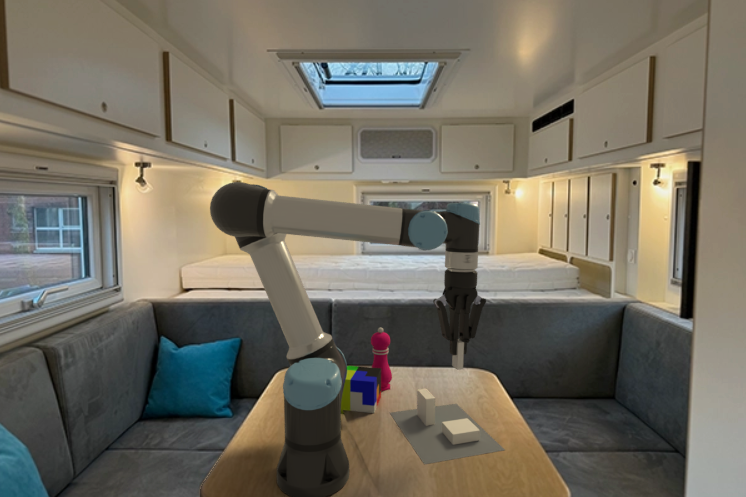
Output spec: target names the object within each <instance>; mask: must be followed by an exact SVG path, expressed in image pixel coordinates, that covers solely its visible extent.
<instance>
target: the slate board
mask: <svg viewBox="0 0 746 497" xmlns="http://www.w3.org/2000/svg"><path fill="white" fill-rule="evenodd" d="M389 414H390V416H391V417H392V419H393V420H394V421H395V424H396V425H397V426H398V427H399V429H400V431H401V432H402V433H403V435H404V436H405V438H406V440H407V441H408V442H409V444H410V446H411V447H412V448H413V450H414V451H415V453H416V454H417V456H418V457H419V459H420V460H421V462H422V463H423V465H429V464H436V463H440V462H445V461H450V460H457V459H458V460H459V459H463V458H468V457H474V456H475V457H476V456H479V455H481V456H482V455H485V454H493V453H497V452H503V451H506V449H505V448H504V447H503V446H502V445H501V444H500V443H499V442H498V441H496V440H495V439H494V438H493V437H492V436H491V435H490V434H489V432H487V431H486V430H485V429H484V428H483V427H482V426H481V425H480V424H479V423H478V422H477V421H475V420H474V419H473V418H472V416H470V415H469V414H468V413H467V412H466V411H465V410H464V409H463V408H462V407H461V406H459V404H458V403H452V404H445V405H438V406H437V405H435V424H433V425H427V426H426V425H425V424H424V423H423V421H422V420H421V419H420V418H419V416H418V415H417V408H414V409H406V410H401V411H392V412H391V411H390V412H389ZM466 418H468V419H469V420H470V421H471V422H472V423H473V424H474V425H475V426H476V427H477V428H478V429H479V430H480V440H479V441H473V442H467V443H460V444H454V445H453V444H452V443H451V442H450V441H449V440H448V438H447V437H446V436H445V435H444V434H443V433H442V422H445V421H452V420H459V419H466Z"/></svg>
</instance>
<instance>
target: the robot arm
mask: <svg viewBox="0 0 746 497" xmlns="http://www.w3.org/2000/svg"><path fill="white" fill-rule="evenodd" d="M209 213H210V217H211V220H212V222H213V224H214V225H215V227H216V228H218V229H219V230H220V231H221V232H222V233H224V234H225V235H228V236H231V237H234V238H235V240H236V243H237V245H238V248H239V249H240V251H242V252H245V253H247V254H248V255H249V256H250V258H251V261H252V263H253V264H254V265H253V266H254V268H255V271H256V273H257V274H258V277H259V279H260V281H261V284H262V286H263V288H264V291H265V292H266V296H267V298H268V300H269V302H270V305H271V307H272V310H273V313H274V314H275V317H276V319H277V321H278V323H279V326H280V328H281V331H282V333H283V335H284V338H285V340H286V342H287V344H288V347H289V348H288V351H287V353H286V359H287V361H288V364H289V367H288V369H287V370H286V371H285V373H284V380H283V384H282V391H283V392H282V393H283V412H284V413H283V414H284V415H283V416H284V420H283V422H284V444H283V447H282V451H281V454H280V455H279V456H280V457H279V460H278V463H277V466H276V484H277V486H278V488H279V489H280V490H281V491H282V493H284V494H286V495H287V496H289V497H328V496H331V495H333V494H335V493H337V492H339V491H340V490H341V489H342V488H343V487H345V485H346V484H347V482H348V480H349V478H350V460H349V458H348V455H347V452H346V449H345V446H344V442H343V440H342V414H341V399H342V393H343V388H344V383H345V379H346V376H347V366H348V365H347V360H346V358H345V355H344V353H343V352H342V350H341V349H340V348H339V347H337V344H336V343H335V340H334V339H333V336H332V334H330V333H326V332H324V330H323V328H322V326H321V324H320V322H319V319H318V316H317V314H316V312H315V310H314V306H313V305H312V302H311V300H310V297H309V296H308V293H307V289H306V288H305V286H304V284H303V281H302V278H301V277H300V274H299V272H298V269H297V267H296V264H295V263H294V259H293V257H292V255H291V253H290V251H289V248H288V246H287V242H286V237H287V235H292V236H301V237H302V236H303V237H313V238H322V239H332V240H342V241H352V242H363V243H371V244H382V245H389V246H390V245H391V246H400V247H408V248H418V249H419V250H424V251H432V250H435V249H437V248H439V247H441V245H443V244H445V254H444V257H445V258H444V267H445V268H446V269H445V270H444V280H443V281H444V282H443V283H444V290H443V291H442V295H441V296H439V297H438V298H434V299H433V301H432V302H433V305H434V306H435V307H436V309H437V315H438V320H439V325H440V326H439V327H440V331H441V336H442V338H444V339H445V340H447V341H449V353H450V355H452V356H451V357H452V358H451V359H452V362H451V366H452V367H453V368H454V369H456V371H457V370H459V371H460V370H464V355H466V354H467V352H468V343H469V342H470V341H471V339H475V337H476V333H477V330H478V326H479V322H480V318H481V314H482V310H483V308H484V307H485V305H486V303H487V299H486V298H484V297H481V296H480V295H479V293H478V290H477V285H478V272H477V269H478V267H479V266H478V265H479V263H478V262H479V238H480V225H481V222H480V219H481V218H480V207H479V205H478V204H476V203H473V202H472V203H470V202H469V203H467V202H449V203H447V205H446V209H445V211H443V210H442V211H434V210H426V209H425V210H421V209H411V208H400V207H391V206H383V205H382V206H381V205H373V204H372V205H371V204H363V203H354V202H352V203H351V202H344V201H343V202H342V201H336V200H335V201H334V200H324V199H315V198H306V197H296V196H288V195H287V196H286V195H279V194H278V193H277V192H276V190H274V189H269V188H267V187H265V186H263V185H260V184H254V183H253V184H251V183H248V182H247V183H246V182H242V181H235V182H234V181H233V182H230V183H227V184H225V185H222V186H221V187H220V188H218V189H217V190H216V191H215V193H214V194H213V196H212V197H211V200H210V204H209ZM446 303H447V304H446ZM446 305H448V310H449V318H448V313H447V308H446Z"/></svg>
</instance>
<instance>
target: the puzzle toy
mask: <svg viewBox="0 0 746 497" xmlns="http://www.w3.org/2000/svg"><path fill="white" fill-rule="evenodd" d="M371 367H372V366H370V367H369V366H357V365H347V376H346V379H345V383H344V388H343V393H342V399H341V415H345V413H344V411H347V412H348V411H350V412H359V413H360V412H361V413H370V414H375V412H376V410H377V407H378V406H379V403H380V400H381V398H382V391H381V368H371Z"/></svg>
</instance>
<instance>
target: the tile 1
mask: <svg viewBox="0 0 746 497" xmlns="http://www.w3.org/2000/svg"><path fill="white" fill-rule="evenodd" d="M416 394H417V395H416V398H417V399H416V409H417V415H418V416H419V418H420V419H421V420H422V421H423V423H424V424H425V425H426V426H427V425H433V424H435V406H436V397H435V396H434V395H433V394H432V393H431V392H430V391H429V390H428V389H427V388H418V389H417V391H416Z"/></svg>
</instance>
